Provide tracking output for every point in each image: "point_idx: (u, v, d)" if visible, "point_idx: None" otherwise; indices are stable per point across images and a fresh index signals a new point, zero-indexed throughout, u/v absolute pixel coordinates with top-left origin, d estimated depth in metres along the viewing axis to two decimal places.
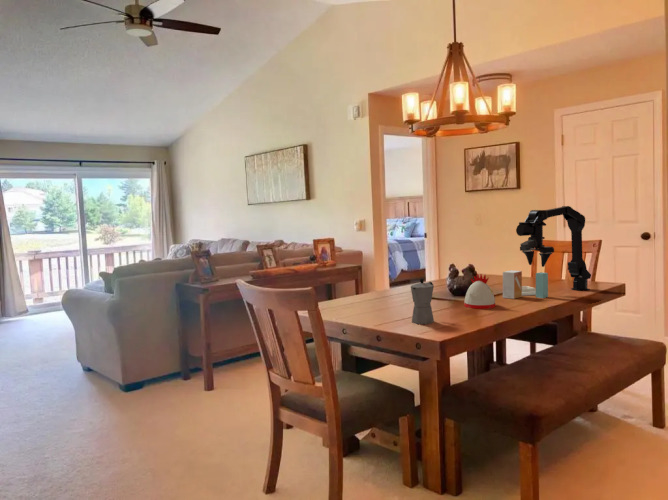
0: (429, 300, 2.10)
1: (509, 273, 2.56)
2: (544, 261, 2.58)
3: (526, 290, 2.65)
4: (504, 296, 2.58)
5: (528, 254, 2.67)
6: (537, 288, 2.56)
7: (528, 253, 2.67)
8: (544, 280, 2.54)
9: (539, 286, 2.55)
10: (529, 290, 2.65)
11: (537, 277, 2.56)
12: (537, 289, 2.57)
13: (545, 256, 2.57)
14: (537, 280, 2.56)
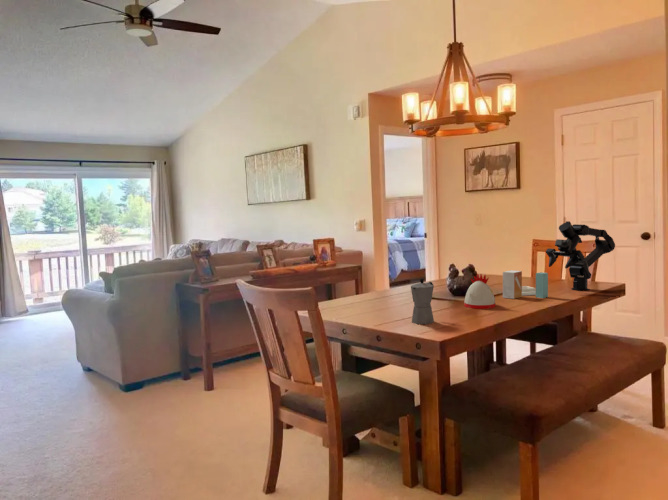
0: (429, 300, 2.10)
1: (509, 273, 2.56)
2: (569, 264, 2.59)
3: (526, 290, 2.65)
4: (504, 296, 2.58)
5: (552, 257, 2.68)
6: (537, 288, 2.56)
7: (553, 256, 2.68)
8: (544, 280, 2.54)
9: (539, 286, 2.55)
10: (529, 290, 2.65)
11: (537, 277, 2.56)
12: (537, 289, 2.57)
13: (572, 260, 2.59)
14: (537, 280, 2.56)
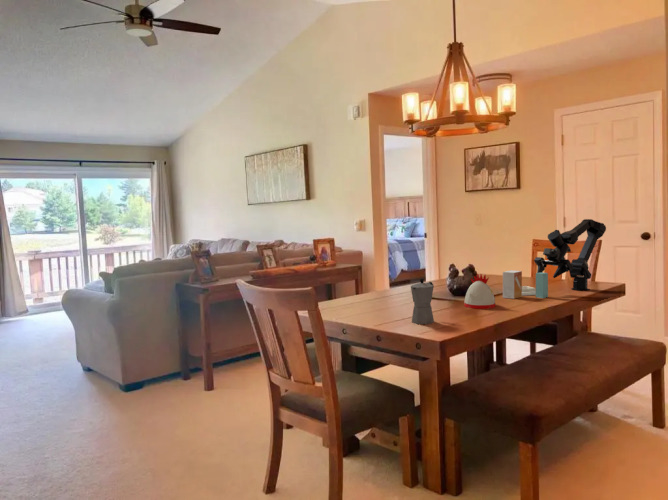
0: (429, 300, 2.10)
1: (509, 273, 2.56)
2: (558, 273, 2.54)
3: (526, 290, 2.65)
4: (504, 296, 2.58)
5: (540, 266, 2.63)
6: (537, 288, 2.56)
7: (541, 265, 2.63)
8: (544, 280, 2.54)
9: (539, 286, 2.55)
10: (529, 290, 2.65)
11: (537, 277, 2.56)
12: (537, 289, 2.57)
13: (561, 270, 2.55)
14: (537, 280, 2.56)
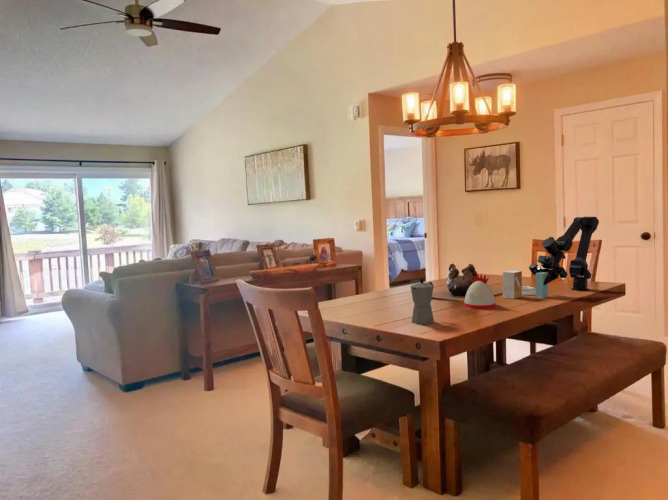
0: (429, 300, 2.10)
1: (509, 273, 2.56)
2: (548, 280, 2.54)
3: (526, 290, 2.65)
4: (504, 296, 2.58)
5: None
6: (537, 288, 2.56)
7: None
8: (544, 280, 2.54)
9: (539, 286, 2.55)
10: (529, 290, 2.65)
11: (537, 277, 2.56)
12: (537, 289, 2.57)
13: (551, 277, 2.55)
14: (537, 280, 2.56)
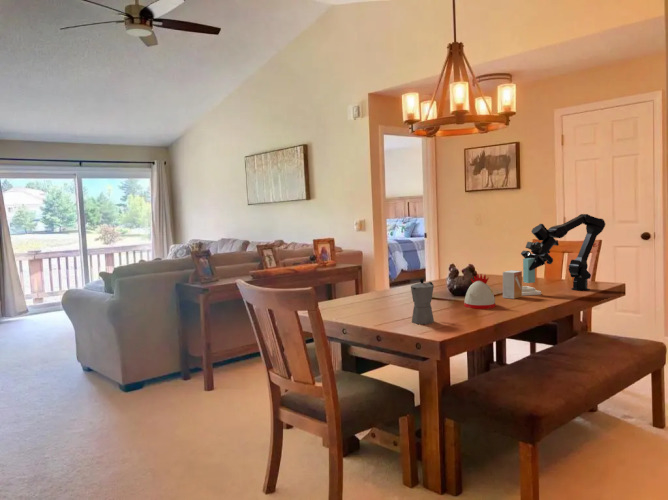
0: (429, 300, 2.10)
1: (509, 273, 2.56)
2: (534, 266, 2.61)
3: (526, 290, 2.65)
4: (504, 296, 2.58)
5: None
6: (524, 273, 2.64)
7: None
8: None
9: (526, 271, 2.63)
10: (529, 290, 2.65)
11: (524, 262, 2.64)
12: (524, 274, 2.64)
13: (537, 263, 2.61)
14: (524, 266, 2.64)
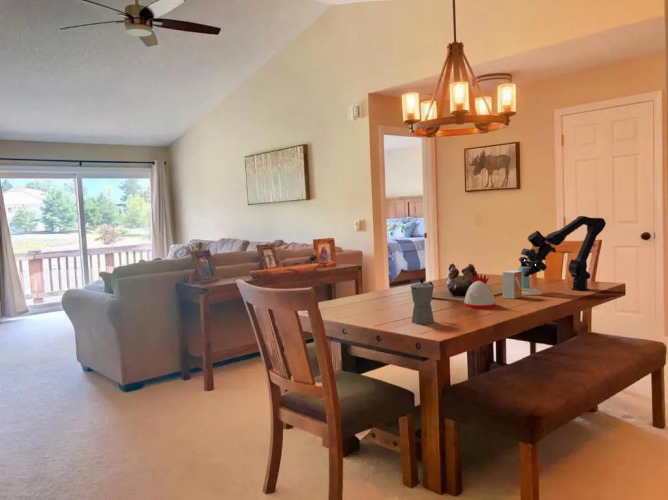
0: (429, 300, 2.10)
1: (509, 273, 2.56)
2: (529, 272, 2.64)
3: (526, 290, 2.65)
4: (504, 296, 2.58)
5: (523, 265, 2.72)
6: None
7: (524, 265, 2.72)
8: None
9: None
10: (529, 290, 2.65)
11: None
12: None
13: (533, 269, 2.64)
14: None
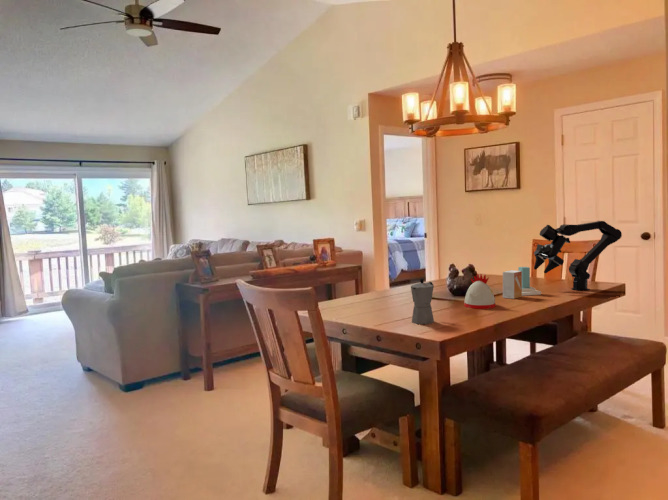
0: (429, 300, 2.10)
1: (509, 273, 2.56)
2: (548, 268, 2.66)
3: (526, 290, 2.65)
4: (504, 296, 2.58)
5: (538, 259, 2.76)
6: None
7: (539, 258, 2.76)
8: (525, 274, 2.66)
9: None
10: (529, 290, 2.65)
11: None
12: None
13: (552, 265, 2.66)
14: None
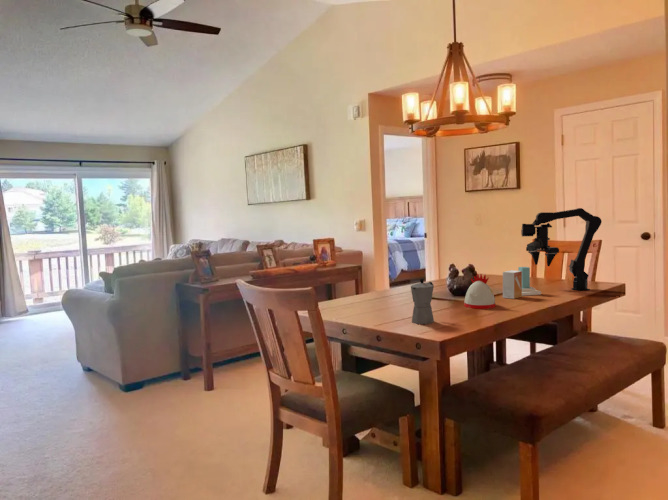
0: (429, 300, 2.10)
1: (509, 273, 2.56)
2: (549, 261, 2.71)
3: (526, 290, 2.65)
4: (504, 296, 2.58)
5: (534, 254, 2.81)
6: None
7: (534, 253, 2.81)
8: (525, 274, 2.66)
9: None
10: (529, 290, 2.65)
11: None
12: None
13: (550, 256, 2.71)
14: None
